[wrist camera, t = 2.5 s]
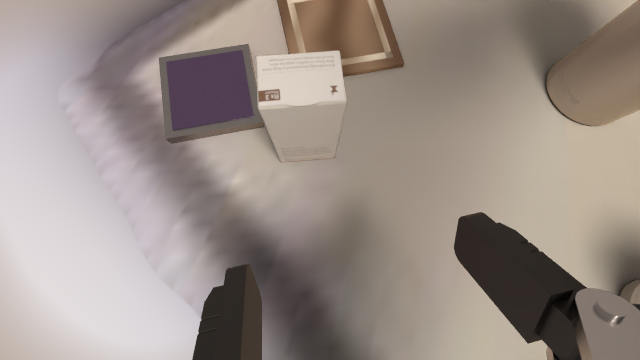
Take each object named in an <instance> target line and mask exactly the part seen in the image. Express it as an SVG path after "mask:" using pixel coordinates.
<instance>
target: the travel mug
mask: <svg viewBox="0 0 640 360" xmlns="http://www.w3.org/2000/svg"><path fill="white" fill-rule="evenodd" d="M620 297H621V298H623V299H625V300H627V301H628V302H630V303H631V304H640V279H639V280H635V281H632V282H630V283H629V284H627V285H626V286H625V287H624V288H623V290H622V292H621V294H620Z"/></svg>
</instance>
